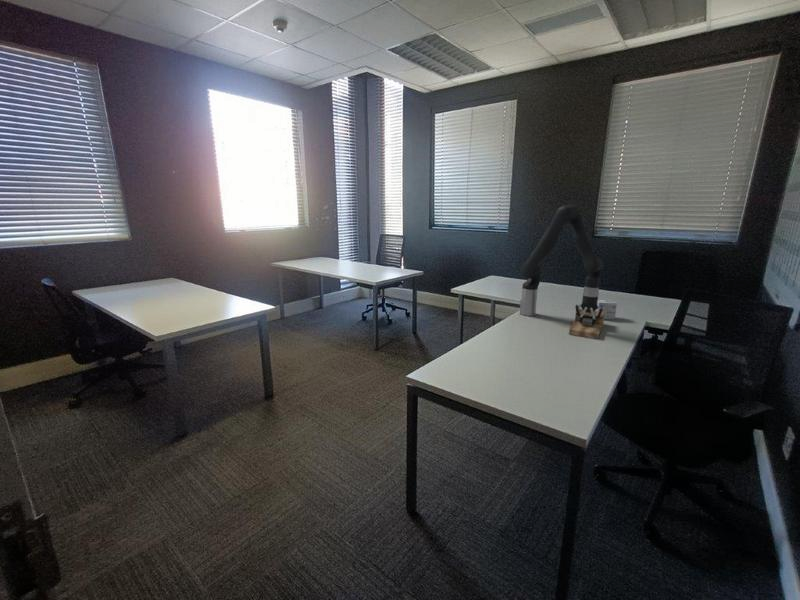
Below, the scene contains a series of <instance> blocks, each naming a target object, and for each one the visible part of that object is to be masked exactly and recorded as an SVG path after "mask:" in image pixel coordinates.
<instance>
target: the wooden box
mask: <svg viewBox="0 0 800 600" xmlns="http://www.w3.org/2000/svg"><path fill="white" fill-rule="evenodd" d="M582 312H583V309H582V308H580V309H579V313H580V314H582ZM598 313H599V311H595V315H596V316H598ZM604 315H605V312H602V313H601V315H600V317H599V319H596V320H595V324H594V325H592V327H586V326H581V325H582V324H581V323H580V317H579V316H577V314H576V313H575V317H574V321H573V323H572V325H571V326H570V328H569V330H568V331H569V332H568V335H569V334H570V336H575V335H576V336H577V337H581V336H582V338H587V337H589V338H590V339H594V338H595V339H594V340H598V339H599V337H600V334H601V332H600V331H602V329H603V326H604V322H605V319H604ZM584 316H587V317H593V316H592V313H584V315H583V318H584ZM576 336H575V337H576Z"/></svg>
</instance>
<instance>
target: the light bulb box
mask: <svg viewBox="0 0 800 600" xmlns="http://www.w3.org/2000/svg"><path fill="white" fill-rule="evenodd" d="M617 305H618V302H616V301H614V300H610V299H609V300H605V299H603V300H601V299H598V303H597V306H598V307H600V308H603V310H602V312H605V315H604V320H616V313H617ZM595 311H598V309H596V310H595Z"/></svg>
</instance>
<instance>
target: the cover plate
mask: <svg viewBox="0 0 800 600" xmlns="http://www.w3.org/2000/svg"><path fill="white" fill-rule="evenodd" d="M592 319H593V317H587V316H584V318H583V320H582V325H581V326H586V327H592Z"/></svg>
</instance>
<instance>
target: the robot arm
mask: <svg viewBox="0 0 800 600" xmlns="http://www.w3.org/2000/svg"><path fill="white" fill-rule="evenodd" d="M567 223H569V224H570V226H571V228H572V230H573V235H574V243H575V245H576V248H577V250H578V252H579V253H580V255H581V259H582V264H583V266H584V268H585V269H586V270H587V271H588V274H587V275H586V277H585V279H584V286H583V287H584V288H583V291H582V298H581V299H582V300H581V304H576V305H575V315H576V314H577V316H579V317H580V323H581V324H582V320H583V315H584V313H592V316H593V319H592V325H594V324H595V320H596V319H599V317H600V315H601V313H602V310H603V308H600V307H598V306H597V303H598V300H599V295H600V292H599V291H600V289H599V288H600V283H601V281H600V280H601V277H602V273H603V271H604V261H603V260H602V259H601V258H599V257H596V255H595V247H594V246H593V244H592V242H591V240H590V237H589V235H588V233H587V231H586V228H585V225H584V222H583V219H582V217H581V212H580V209H579V208H578V207H577V206H576V205H574V204H566V205H563V206H560V207H558V209H557V210H556V212H555V214H554V216H553V218H552V220H551V222H550V223H549V225H548V228H547V229H545V232H544V234H543V235H542V237H541V238H540V240H539V241H538V243H537V245H536V246H535V248H534V249H533V251H532V252H531V254H530V255H529V257H528V258H527V259H526V261H525V262H524V263H523V264H522V266H521V269H520V275H521V278H523V279H527V280H526V281H525V282H523V283H522V291H521V299H520V301H519V302H520V303H519V304H520V306H519V314H520V313H521V314H520V315H522V316H525V315H526V317H534V316H536V315H537V314H536V312H537V302H538V301H537V300H538V299H537V298H538V288H539V285H540V282H541V276H542V267H541V265H540V263H541V262H542V261H543V260H544V259H545V258H547V257H548V256H549V255H550V254H551V253H552V252H553V250H554V249H555V247H556V246H557V245H558V242H559V238H560V234H561V231H562V230H563V228H564V227H565V226H566V225H567ZM579 309H583V312H582V314H580V313H579ZM596 309H598V311H599V313H598V316H596V315H595V310H596Z"/></svg>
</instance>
